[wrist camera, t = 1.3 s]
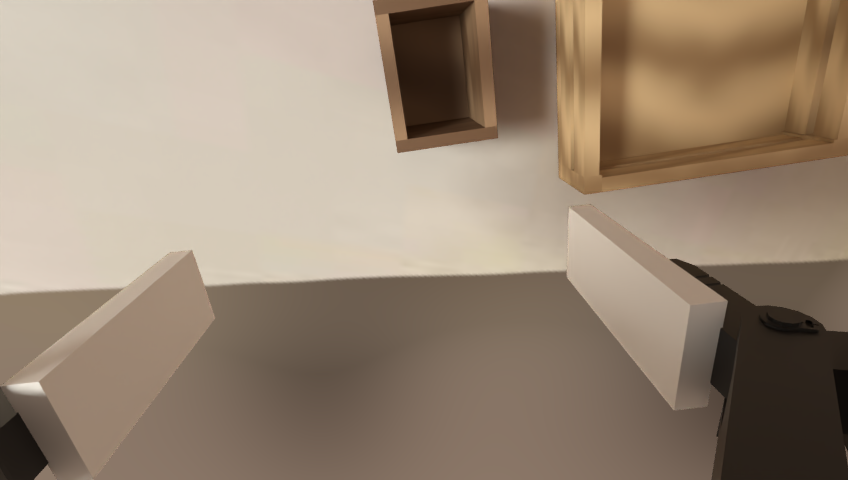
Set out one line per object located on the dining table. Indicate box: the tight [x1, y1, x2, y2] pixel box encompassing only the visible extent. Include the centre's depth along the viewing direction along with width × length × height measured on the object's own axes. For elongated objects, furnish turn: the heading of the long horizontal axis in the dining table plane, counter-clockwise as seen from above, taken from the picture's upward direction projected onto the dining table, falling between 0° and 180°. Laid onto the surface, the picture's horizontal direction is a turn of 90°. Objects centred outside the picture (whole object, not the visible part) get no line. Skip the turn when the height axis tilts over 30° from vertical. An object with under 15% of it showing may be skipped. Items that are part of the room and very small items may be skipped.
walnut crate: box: [373, 0, 498, 153], centre depth 27 cm, size 8×6×7 cm
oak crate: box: [555, 0, 848, 195], centre depth 28 cm, size 16×18×5 cm
